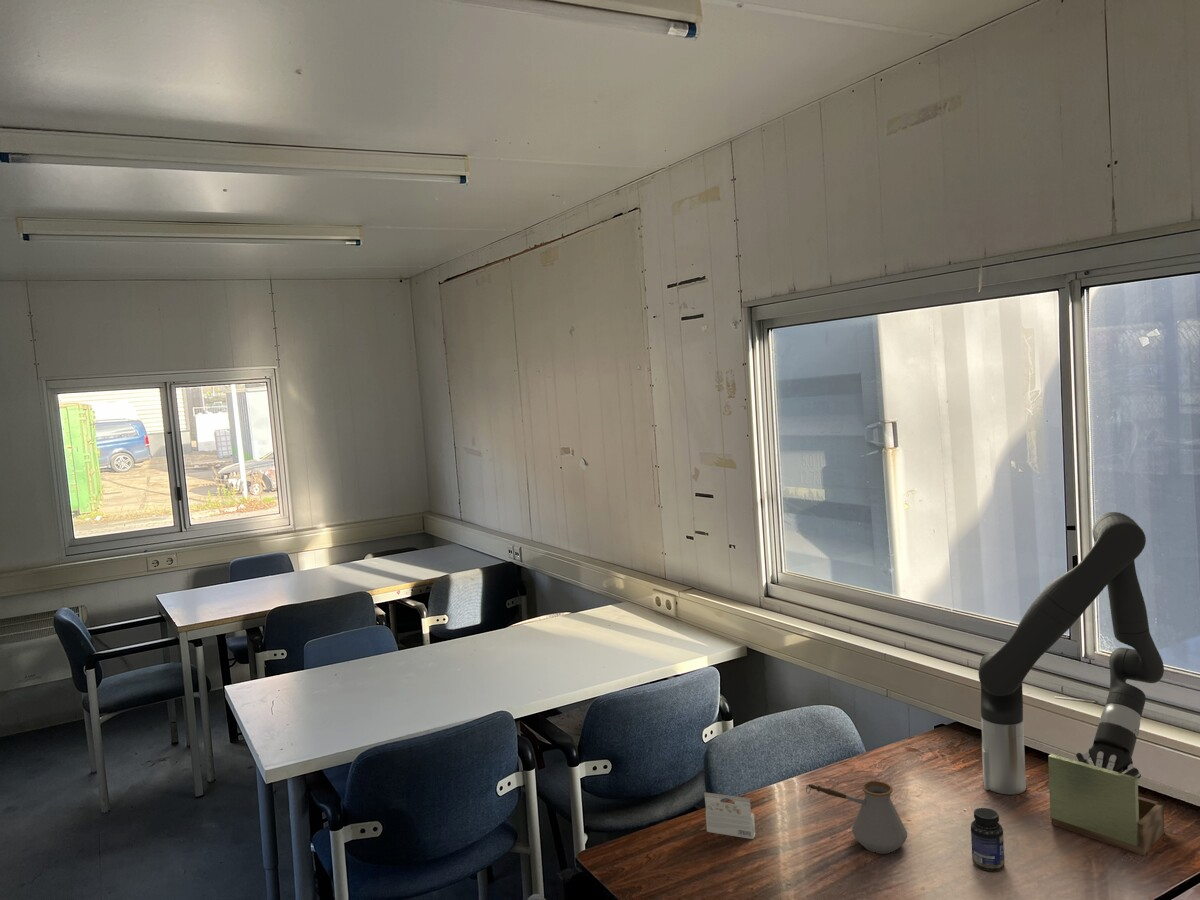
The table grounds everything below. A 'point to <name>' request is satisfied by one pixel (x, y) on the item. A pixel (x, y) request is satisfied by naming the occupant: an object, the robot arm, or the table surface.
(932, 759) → the table surface
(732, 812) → the ink cartridge box
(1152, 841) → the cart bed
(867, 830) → the coffee pot
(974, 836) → the pill bottle
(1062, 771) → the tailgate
